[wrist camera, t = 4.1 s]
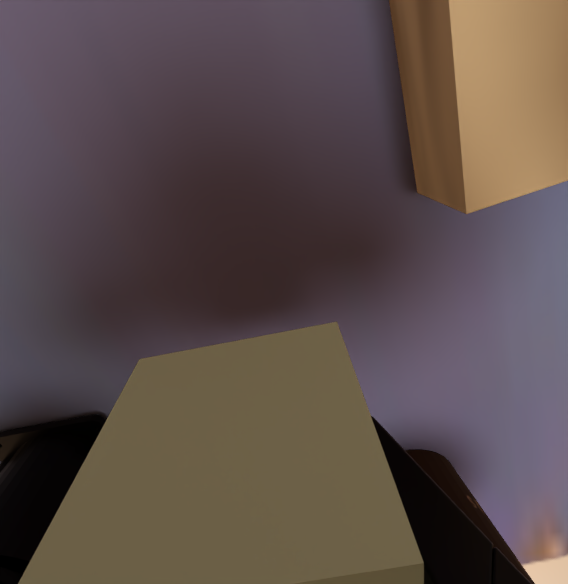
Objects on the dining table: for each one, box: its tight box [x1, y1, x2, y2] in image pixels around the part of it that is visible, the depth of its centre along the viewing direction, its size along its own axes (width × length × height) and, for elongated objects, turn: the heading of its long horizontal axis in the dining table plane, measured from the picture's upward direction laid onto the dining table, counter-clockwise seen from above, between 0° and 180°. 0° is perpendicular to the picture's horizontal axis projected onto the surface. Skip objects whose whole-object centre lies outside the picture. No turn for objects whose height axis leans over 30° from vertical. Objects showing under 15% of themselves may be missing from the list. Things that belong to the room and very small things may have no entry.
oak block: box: [389, 0, 568, 214], centre depth 10 cm, size 8×8×4 cm
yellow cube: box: [18, 322, 424, 584], centre depth 7 cm, size 5×5×5 cm
